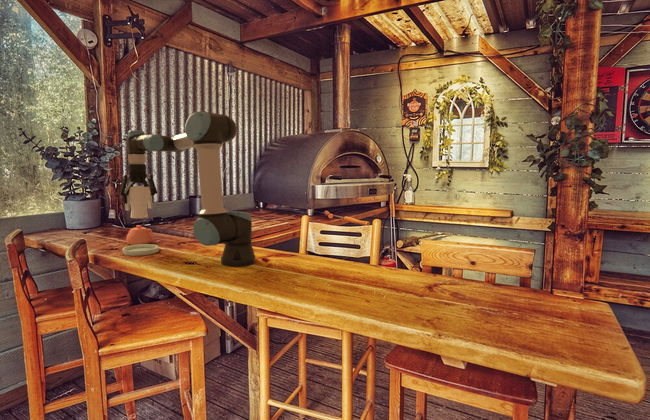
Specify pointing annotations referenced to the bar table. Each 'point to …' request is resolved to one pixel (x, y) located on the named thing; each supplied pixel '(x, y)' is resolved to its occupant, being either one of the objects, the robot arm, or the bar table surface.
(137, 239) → the sugar bowl
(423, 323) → the bar table surface
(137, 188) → the cup
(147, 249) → the dish
